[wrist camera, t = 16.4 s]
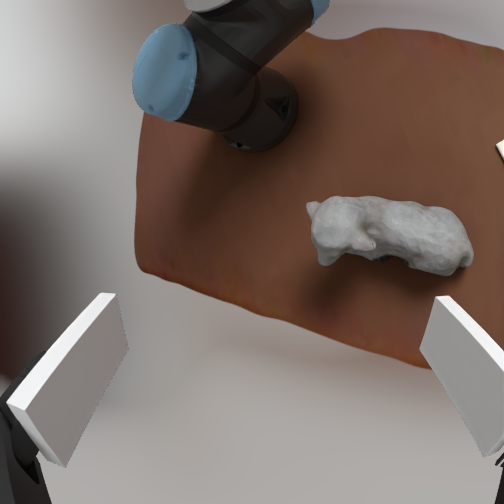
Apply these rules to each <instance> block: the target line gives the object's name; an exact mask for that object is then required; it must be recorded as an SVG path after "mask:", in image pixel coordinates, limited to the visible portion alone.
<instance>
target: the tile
mask: <svg viewBox="0 0 504 504" xmlns="http://www.w3.org/2000/svg"><path fill="white" fill-rule="evenodd" d="M496 147H497V148H498V150H499V152H500V154H501V156H502V157H503V159H504V140H503V141H501V142H500V143H498V144H497V145H496Z"/></svg>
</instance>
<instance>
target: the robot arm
mask: <svg viewBox="0 0 504 504" xmlns="http://www.w3.org/2000/svg"><path fill="white" fill-rule="evenodd" d="M183 2H184V5H185V6H186V8H187V9H189V10H190V11H192V14H191V15H190V16H189V17H188V18H187V19H186V21H185V22H183V24H182V25H181V24H166V25H163V26H161V28H160V29H157V30H155V31H154V32H153V33H152V34H151V35H150V36H149V37H148V38H147V40H146V41H145V43H144V44H143V46H142V48H141V50H140V52H139V54H138V56H137V59H136V62H135V66H134V70H133V79H132V87H133V94H134V97H135V100H136V102H137V104H138V105H139V107H140V108H141V109H142V110H143V111H145V112H146V113H148V114H151V115H154V116H157V117H160V118H162V119H164V120H166V121H175V122H179V123H184V124H188V125H192V126H196V127H200V128H204V129H207V130H211V131H214V132H215V133H216V134H217V135H218V136H219V137H220V138H221V139H222V140H223V141H224V142H226V143H227V144H228V145H230V146H232V147H234V148H236V149H239V150H243V151H247V152H260V151H264V150H267V149H269V148H271V147H273V146H275V145H276V144H278V143H279V142H280V141H281V140H282V139H283V138H284V137H285V136H286V135H287V134H288V132H289V131H290V129H291V128H292V126H293V124H294V121H295V119H296V115H297V110H298V100H297V95H296V91H295V89H294V87H293V85H292V84H291V82H290V81H289V80H288V79H287V78H286V77H284V76H283V75H282V74H280V73H279V72H277V71H276V70H274V69H271V68H268V67H264V66H265V65H266V64H267V63H268V62H269V61H271V60H272V59H273V58H274V57H275V56H276V55H277V54H278V53H279V52H281V51H282V50H283V49H284V48H285V47H286V46H287V45H289V44H290V43H291V42H292V41H293V40H294V39H296V38H297V37H298V36H299V35H300V34H302V33H303V32H304V31H305V30H306V29H308V28H310V27H311V26H312V25H313V24H314V23H315V21H316V20H317V19H318V18H319V17H320V16H321V15H322V14H323V13H324V12H325V11H326V10H327V9H328V7H329V3H330V0H183ZM128 349H129V348H128V344H127V340H126V336H125V331H124V327H123V323H122V318H121V314H120V309H119V304H118V299H117V294H111V293H100V294H99V295H98V296H97V297H96V298H95V299H94V300H93V301H92V302H91V304H89V306H88V307H87V308H86V309H85V310H84V311H83V312H82V313H81V314H80V315H79V316H78V317H77V318H76V320H75V321H74V322H73V323H72V324H71V325H70V326H69V327H68V328H67V330H66V331H65V332H64V333H63V334H62V335H61V336H60V337H59V339H58V340H57V341H56V342H55V343H54V344H53V345H52V347H51V348H50V349H49V350H48V351H47V352H46V351H43V352H41V353H40V354H38V355H37V356H35V357H34V358H33V359H32V360H31V361H30V362H29V363H28V364H27V365H26V366H25V369H23V370H22V371H21V372H20V374H19V377H16V378H15V380H14V381H13V382H12V383H11V385H10V386H9V387H8V388H7V389H6V391H5V392H4V393H3V394H2V396H1V397H0V504H52V503H51V500H50V497H49V494H48V491H47V487H46V484H45V481H44V477H43V474H42V471H41V467H40V463H39V461H38V459H37V457H36V455H37V453H38V451H40V452H41V453H42V454H43V456H44V457H45V458H46V459H47V460H48V461H50V462H53V463H55V464H57V465H59V466H62V467H65V468H66V467H67V464H68V462H69V460H70V458H71V456H72V454H73V452H74V450H75V448H76V446H77V444H78V442H79V440H80V438H81V436H82V434H83V432H84V430H85V428H86V426H87V424H88V422H89V420H90V419H91V416H92V415H93V413H94V411H95V409H96V407H97V405H98V403H99V401H100V400H101V398H102V396H103V394H104V392H105V390H106V389H107V387H108V385H109V383H110V381H111V379H112V378H113V376H114V374H115V372H116V371H117V369H118V367H119V365H120V363H121V362H122V360H123V358H124V356H125V355H126V353H127V351H128ZM419 350H420V351H421V353H422V354H423V356H424V357H425V359H426V360H427V362H428V363H429V365H430V366H431V368H432V370H433V371H434V373H435V374H436V376H437V377H438V379H439V380H440V382H441V384H442V385H443V387H444V388H445V390H446V392H447V393H448V395H449V397H450V398H451V400H452V402H453V403H454V405H455V407H456V408H457V410H458V412H459V414H460V415H461V417H462V419H463V420H464V422H465V424H466V426H467V427H468V429H469V431H470V433H471V434H472V436H473V438H474V440H475V442H476V444H477V446H478V447H479V449H480V451H481V453H482V455H483V457H484V458H485V457H487V456H489V455H491V454H493V453H495V452H497V451H499V450H500V449H501V447H502V446H503V445H504V351H503V350H502V349H501V348H500V347H499V346H498V345H497V344H496V343H495V342H494V340H493V339H492V338H491V337H490V336H489V335H488V334H487V333H486V332H485V331H484V330H483V329H482V328H481V327H480V326H479V325H478V324H477V323H476V322H475V321H474V320H473V319H472V318H471V317H470V316H469V315H468V314H467V313H466V312H465V311H464V310H463V309H462V308H461V307H460V306H459V305H458V304H457V303H456V302H455V301H454V300H453V299H452V298H451V297H449V296H438V297H435V300H434V304H433V308H432V311H431V314H430V318H429V321H428V324H427V328H426V331H425V334H424V337H423V340H422V343H421V346H420V349H419ZM503 459H504V453H503V454H502V455H501V456H500V458H499V459H498V460H497V461H496V464H495V465H496V466H497V465H498V464H499V463H500V462H501V460H503ZM501 467H503V471H502V475H501V480H500V484H499V489H498V493H497V497H496V500H495V504H504V462H503V463H502V464H501Z"/></svg>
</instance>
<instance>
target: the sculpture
mask: <svg viewBox="0 0 504 504" xmlns="http://www.w3.org/2000/svg"><path fill="white" fill-rule="evenodd" d="M306 209H307V213H308V214H309V216H310V218H311V220H312V226H311V240H312V243H313V244H314V246H315V247H316V249H317V251H318V262H319V264H321V265H323V266H329V265H331V264H332V263H334V262H335V261H336V260H337V259H338V258H339V257H340V256H341V255H343V254H344V253H345V252H346V253H351V254H356V255H361V256H363V257H365V258H367V259H369V260H374V261H379V262H385V261H386V260H387V259H388V258H389V257H390V256H391V255H393V256H398V257H400V258H401V260H402V261H403V262H404V263H405V264H406V265H407V266H409V267H410V268H414V269H420V270H422V271H425V272H430V273H433V274H438V275H442V276H450V275H451V274H453V273H454V271H455V270H456V269H457V268H458V267H463V268H465V267H467V266H469V265H471V263H472V261H473V256H474V252H473V249H472V246H471V243H470V241H469V239H468V236H467V234H466V231H465V228H464V226H463V224H462V223H461V221H460V220H459V219H458V218H457V217H456V216H455V214H454V213H453V212H452V211H450V210H447V209H445V208H442V207H434V206H431V207H426V206H423V205H421V204H419V203H416V202H413V201H392V200H387V199H384V198H381V197H376V196H365V197H358V198H355V197H341V196H334V197H331V198H329V199H327V200H326V201H324V202H323V203H319V202H317V201H314V202H308V203H307V204H306Z"/></svg>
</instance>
